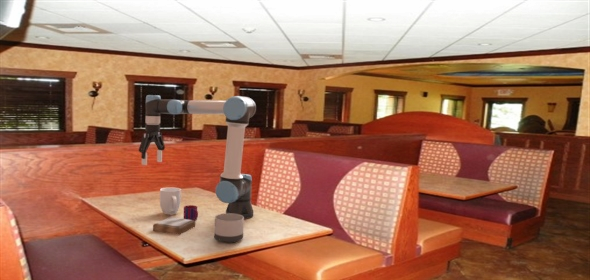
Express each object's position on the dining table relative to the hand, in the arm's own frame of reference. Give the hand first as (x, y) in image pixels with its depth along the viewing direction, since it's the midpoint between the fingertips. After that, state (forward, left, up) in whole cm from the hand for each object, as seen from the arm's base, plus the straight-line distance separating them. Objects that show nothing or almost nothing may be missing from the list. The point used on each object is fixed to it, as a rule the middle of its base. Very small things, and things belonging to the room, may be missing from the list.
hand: (152, 163), depth 229 cm
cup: (-28, +6, -27) cm, 39 cm away
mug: (-12, -1, -27) cm, 29 cm away
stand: (-28, +22, -26) cm, 45 cm away
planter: (-58, +26, -27) cm, 69 cm away
